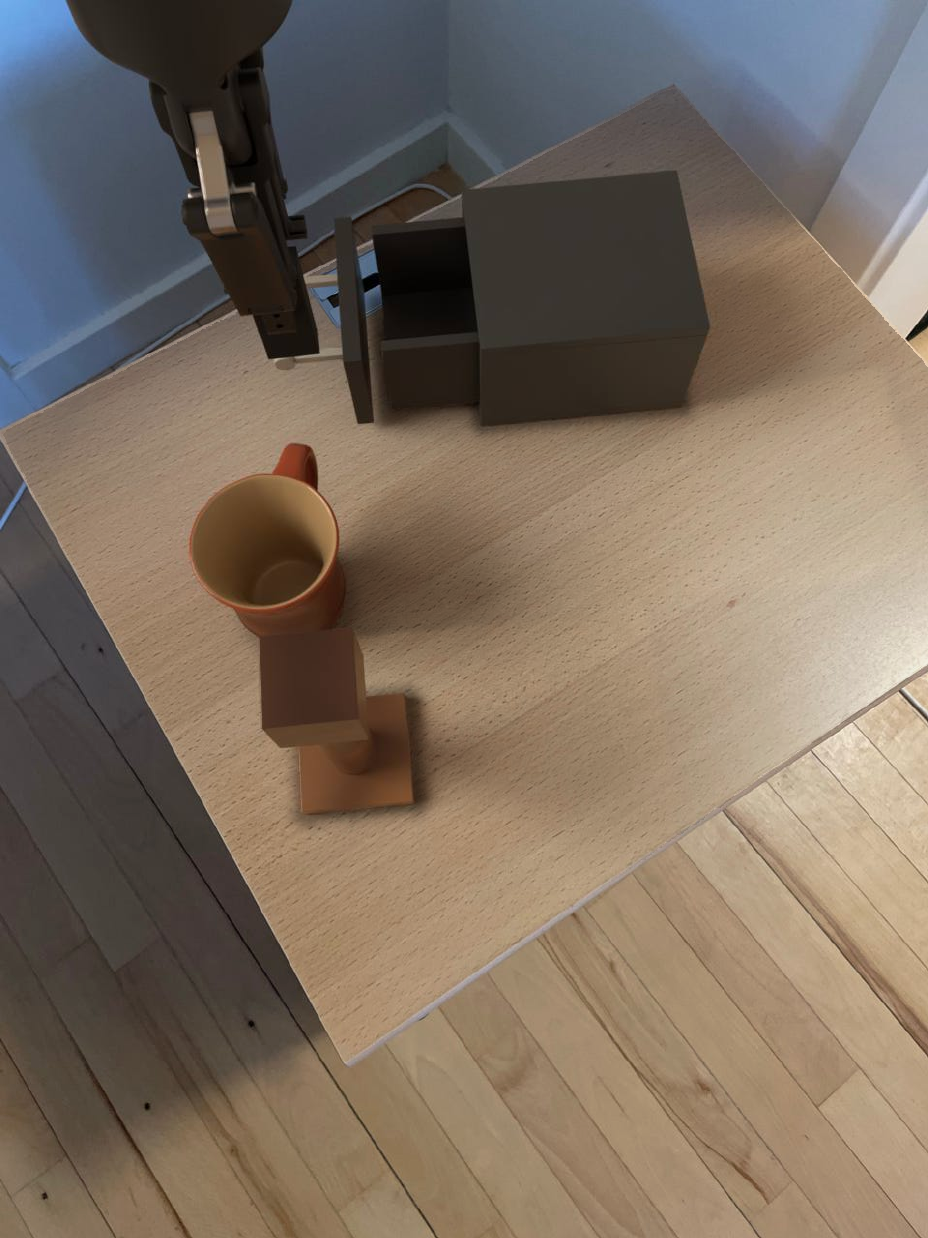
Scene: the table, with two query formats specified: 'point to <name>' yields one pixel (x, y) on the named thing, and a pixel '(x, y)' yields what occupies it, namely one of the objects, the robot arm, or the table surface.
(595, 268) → the cabinet
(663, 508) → the table surface
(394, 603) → the table surface
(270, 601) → the mug
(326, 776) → the post
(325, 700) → the block
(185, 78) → the robot arm
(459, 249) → the drawer
